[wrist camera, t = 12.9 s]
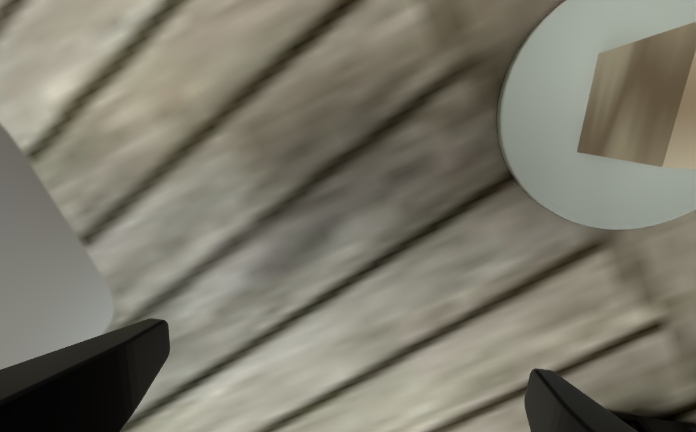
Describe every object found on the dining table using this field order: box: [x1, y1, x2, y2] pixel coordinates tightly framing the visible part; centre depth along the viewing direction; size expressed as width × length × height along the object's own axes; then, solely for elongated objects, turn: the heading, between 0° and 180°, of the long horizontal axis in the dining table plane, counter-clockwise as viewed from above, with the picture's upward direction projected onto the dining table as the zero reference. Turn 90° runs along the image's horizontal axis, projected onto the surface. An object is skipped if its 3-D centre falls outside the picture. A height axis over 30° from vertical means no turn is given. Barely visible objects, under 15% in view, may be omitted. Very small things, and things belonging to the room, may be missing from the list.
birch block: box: [577, 22, 696, 169], centre depth 14 cm, size 4×4×6 cm
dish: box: [497, 0, 696, 230], centre depth 18 cm, size 12×12×1 cm
